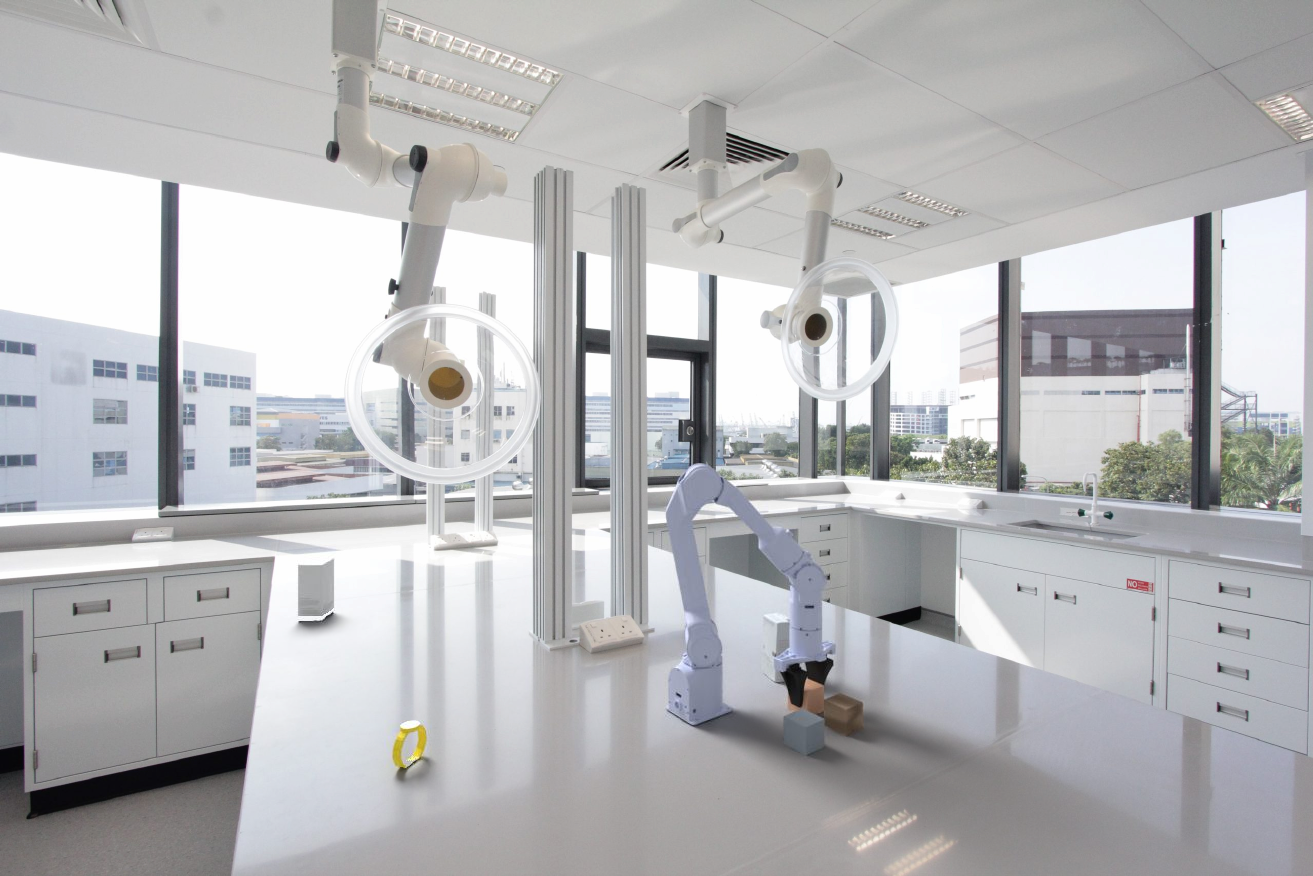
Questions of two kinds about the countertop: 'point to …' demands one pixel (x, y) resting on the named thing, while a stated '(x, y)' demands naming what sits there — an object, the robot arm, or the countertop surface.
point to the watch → (404, 731)
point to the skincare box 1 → (316, 587)
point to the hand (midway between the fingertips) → (805, 701)
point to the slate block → (804, 731)
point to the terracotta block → (811, 698)
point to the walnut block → (843, 714)
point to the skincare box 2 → (774, 643)
